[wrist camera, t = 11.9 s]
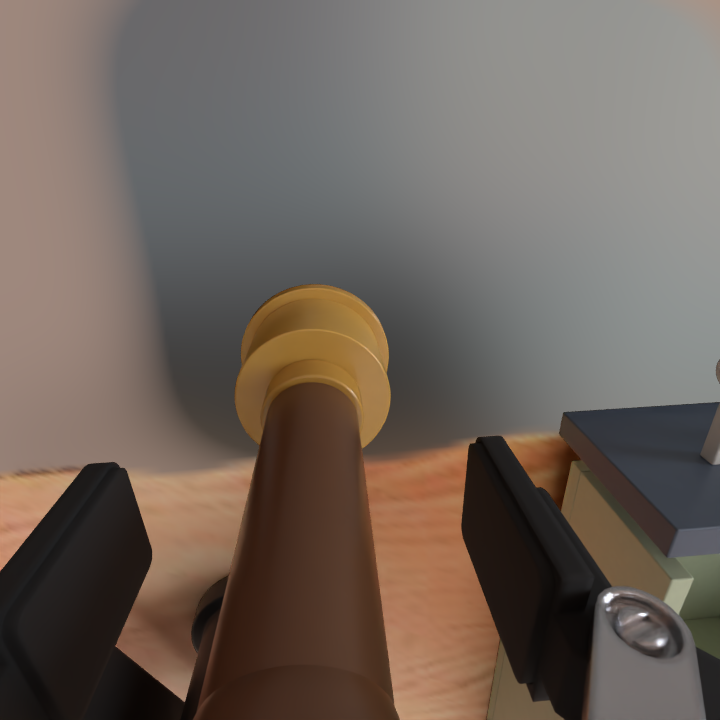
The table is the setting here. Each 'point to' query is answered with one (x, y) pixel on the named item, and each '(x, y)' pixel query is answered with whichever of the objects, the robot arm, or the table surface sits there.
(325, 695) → the bell
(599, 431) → the drawer
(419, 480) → the table surface
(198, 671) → the light fixture
